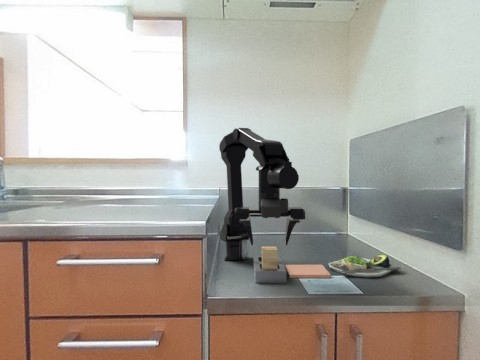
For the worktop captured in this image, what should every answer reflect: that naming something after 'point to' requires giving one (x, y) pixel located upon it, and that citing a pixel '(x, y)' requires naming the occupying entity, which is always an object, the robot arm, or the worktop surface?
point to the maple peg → (269, 258)
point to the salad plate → (364, 266)
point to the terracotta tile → (307, 271)
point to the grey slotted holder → (268, 272)
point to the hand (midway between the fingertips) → (269, 245)
